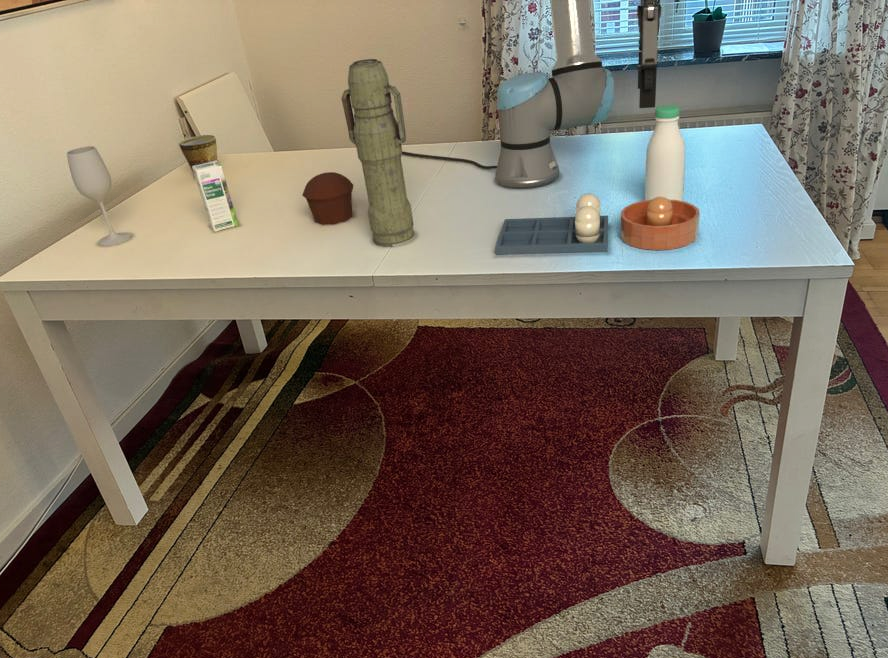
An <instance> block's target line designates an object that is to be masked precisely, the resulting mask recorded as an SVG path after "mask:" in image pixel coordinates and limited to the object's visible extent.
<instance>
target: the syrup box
mask: <svg viewBox="0 0 888 658" xmlns="http://www.w3.org/2000/svg"><path fill="white" fill-rule="evenodd" d="M217 160H218V159H217ZM217 160H216V161H213V162H208V163H204V164H200V165H195V166H192V169H193V172H194V174H193V176H194V175H195V176H194V178H195V181H196V184H197V187H198V191H199V194H200V197H201V200H202V203H203V204H202V205H203V207H204V210H205V214H206V216H207V220H208V223H209V226H210V228H211V229H212V230H213V231H214V232H220V231H222V230H226V229H227V230H228V229H231V228H234V227H238V226H239V221H238V218H237V214H236V211H235V208H234V204H233V201H232V197H231V194H230V191H229V187H228V184H227V183H228V182H227V180H226V177H225V174H224V169H223V166H222V165H221V163H220V162H219V161H217ZM193 172H192V173H193Z"/></svg>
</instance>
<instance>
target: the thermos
mask: <svg viewBox="0 0 888 658" xmlns="http://www.w3.org/2000/svg"><path fill="white" fill-rule="evenodd" d="M347 84H348V85H347V86H348V88H347V89H345V90H344V91H343V92H342V95H341V103H342V108H343V112H344V117H345V121H346V126H347V127H346V128H347V131H348V138H349V141H350V142H351V143H352V144H353V145H354V146H355V148H356V153H357V154H356V155H357V158H358V160H359V162H360V163H361V167H362V173H363V179H364V184H365V189H366V195H367V200H368V201H367V202H368V210H367V217H368V221H369V227H370V231H371V232H372V237H373V238H372V239H373V243H374V244H375V245H377V246H379V247H380V246H381V247H393V245H399V244H403V243H406V242H408V241H410V240H411V239H413V238H414V237H415V231H414V217H413V211H412V205H411V202H410V201H409V199H408V196H407V190H406V182H405V176H404V175H405V174H404V169H403V162H402V155H403V154H402V151H403V147H402V144H404V143H406V142H407V133H406V126H405V118H404V110H403V104H402V97H401V92H400V91H399V90H398V88H397V87H396V86H393V85H392V84H390V81H389V75H388V73H387V70H386V68H385V66H384V64H383V62H382V61H381V60H378V59H377V58H367V59H360V60H356V61H353V62H352V64H350V65H349V67H348V74H347ZM392 96H393V99H394V107H395V114H396V116H395V114H394V109H393V108H392V102H393V101H392ZM353 112H354V113H353Z"/></svg>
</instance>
